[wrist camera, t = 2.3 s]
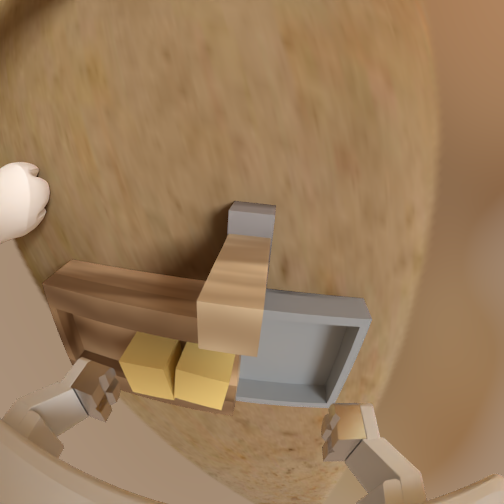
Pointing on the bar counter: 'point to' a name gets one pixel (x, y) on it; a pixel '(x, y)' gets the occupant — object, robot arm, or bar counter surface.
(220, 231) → the bar counter surface
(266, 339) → the tray
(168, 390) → the pale yellow block
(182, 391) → the pale yellow cube
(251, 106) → the bar counter surface
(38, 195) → the water bottle
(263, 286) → the wooden post on base
